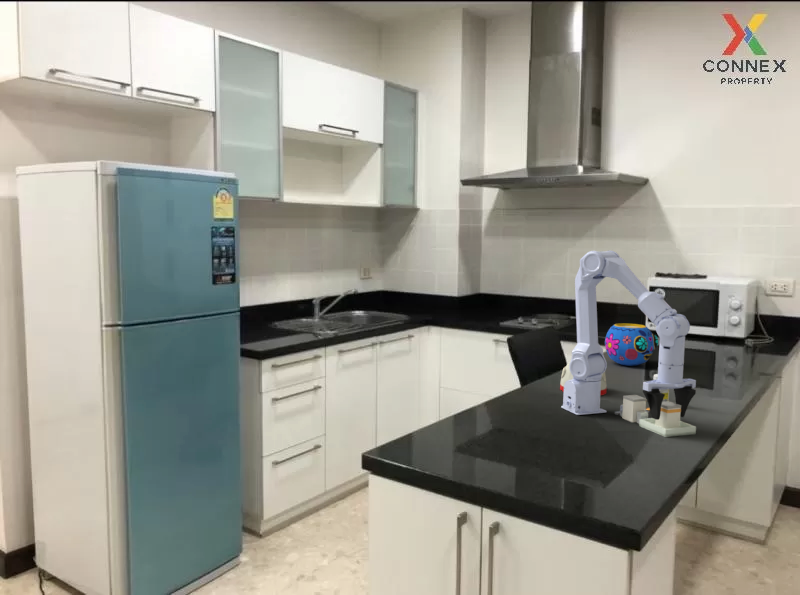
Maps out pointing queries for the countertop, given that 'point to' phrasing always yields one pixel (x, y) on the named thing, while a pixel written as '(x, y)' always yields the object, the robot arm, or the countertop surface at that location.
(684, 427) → the tray
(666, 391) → the supplement bottle
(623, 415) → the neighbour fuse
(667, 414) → the white box with band
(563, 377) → the kitchen timer
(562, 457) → the countertop surface
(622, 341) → the ceramic pot
